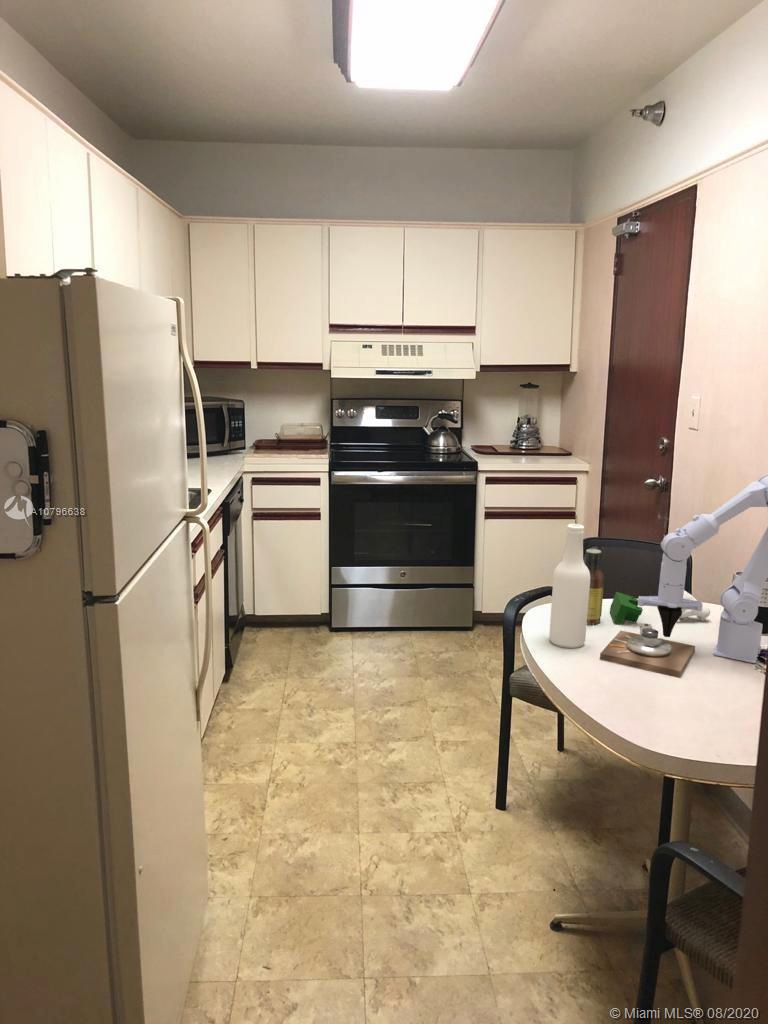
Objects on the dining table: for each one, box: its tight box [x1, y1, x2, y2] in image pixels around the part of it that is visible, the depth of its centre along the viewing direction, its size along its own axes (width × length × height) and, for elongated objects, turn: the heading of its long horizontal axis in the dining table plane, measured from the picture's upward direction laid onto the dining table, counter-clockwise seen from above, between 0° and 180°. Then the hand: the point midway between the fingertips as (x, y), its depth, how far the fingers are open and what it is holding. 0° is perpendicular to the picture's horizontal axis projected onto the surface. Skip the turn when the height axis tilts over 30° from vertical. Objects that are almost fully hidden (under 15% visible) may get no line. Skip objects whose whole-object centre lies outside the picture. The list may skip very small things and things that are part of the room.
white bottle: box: [548, 523, 590, 649], centre depth 184 cm, size 9×9×30 cm
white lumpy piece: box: [676, 589, 711, 623], centre depth 204 cm, size 6×8×12 cm
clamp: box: [609, 591, 643, 625], centre depth 204 cm, size 12×6×9 cm, turn 163°
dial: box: [627, 622, 671, 657], centre depth 180 cm, size 13×10×4 cm
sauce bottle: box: [584, 548, 605, 625], centre depth 200 cm, size 7×6×20 cm
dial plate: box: [599, 630, 696, 678], centre depth 180 cm, size 18×18×2 cm
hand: (666, 635), depth 184 cm, fingers closed
